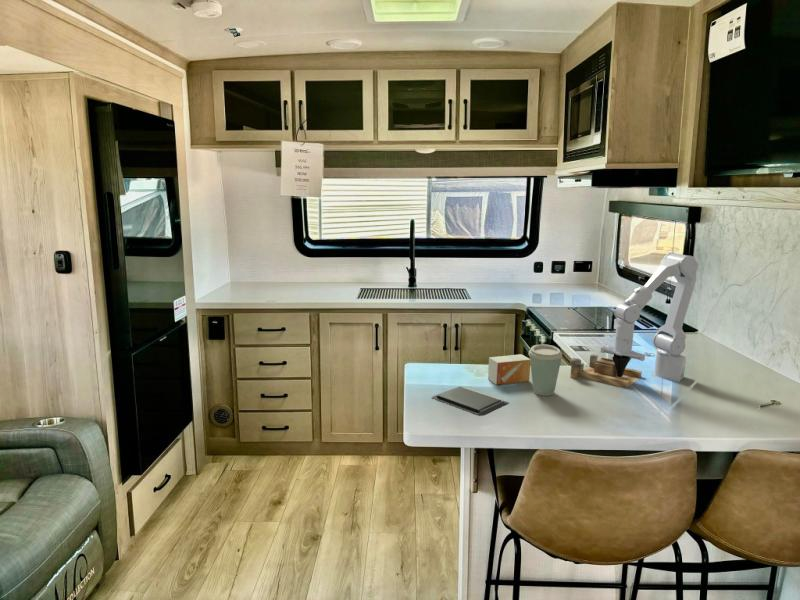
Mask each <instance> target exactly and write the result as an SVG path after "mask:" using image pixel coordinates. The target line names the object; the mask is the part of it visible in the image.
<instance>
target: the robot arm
mask: <svg viewBox="0 0 800 600" xmlns="http://www.w3.org/2000/svg"><path fill="white" fill-rule="evenodd" d="M659 263H660V264H659V266H658V268H656V270H655V271H654V273H653V274H652V275H651V276H650V277H649V279H648V280H647V282H645V284H644V285H643V286H638V287H637V288H634V290H633V291H632V293H631V294H630V295H629V297H628V298H627V299H625V301H623V302H622V303H619V304H618V305H617V306H616V307H615V310H614V311H613V315H614V317H615V323H616V324H615V326H616V327H615V337H614V345H613V347H612V346H605V345H602V346H601V347H600V353H602V354H610V355H613V356H612V360H613V361H614V363H615V366H616V370H617V376H618V377H622V376H623V373H624V370H625V368H627V366H628V364H629V362H630V361H631V360H632V359H634V360H639V361H641V362H643V361H645V359H646V354H645V353H641V352H638V351H634V350H633V343H634V342H633V341H634V340H633V339H634V331H635V324H636V322H637V320H639V319H640V316H641V312H642V309H644V307H645V306H646V305H647V304H648V303H649V302H650V301H651V300H652V298H653V293H654V291H656V290H657V289H658V288H659V287H660V286H661V285H662V284H664V283H665V281H666V280H667V279H668V278H670V277H674V278H675V280H676V285H675V289H674V293H673V296H672V299H671V303H670V305H669V306H670V307H669V309H668V313H667V317H666V320H665V324H663V325H662V326H660V327H658V329H657V332H656V334H654V336H653V339H652V342H653V346H654V347H655V351H656V355H655V363H654V364H655V365H654V372H653V373H651V374H650V376H651V377H655V378H659V379H665V380H668V381H673V382H681V380H683V378H684V377H685V370H686V363H687V362H686V361H687V358H686V356H685V355H682V353H683V352H684V351H685V349H686V339H687V335H686V333H685V332H684V330H683V325H684V322H685V319H686V316H687V312H688V309H689V305H690V302H691V299H692V295H693V291H694V289H695V285H696V282H697V271H698V268H699V262H698V261H697V259H696V258H695V257H694V256H692V255H687V254H681V253H676V252H668V253H667V254H666V255H665V256H664V257H663V258H662V259H661V260H660V262H659Z"/></svg>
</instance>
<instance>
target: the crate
mask: <svg viewBox="0 0 800 600" xmlns="http://www.w3.org/2000/svg"><path fill="white" fill-rule="evenodd" d="M594 373H598V374H602V375H607V376H611V377H616V376H617V370H616V366H615V363H614V361H613V359H610V358H606V357H601V358H600V359H598V360H597V361H596V363H595V366H594Z"/></svg>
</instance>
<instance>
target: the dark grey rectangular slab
mask: <svg viewBox="0 0 800 600" xmlns="http://www.w3.org/2000/svg"><path fill="white" fill-rule="evenodd" d="M431 399H432V400H434V399H435V401H437V402H441V403H443V404H445V403H446V404H445V405H448V404H449V406H452V407H455V408H457V409H460V410H461V411H465V412H468V413H470V414H472V415H476V416H479V417H481V416H486V415H488V414H490V413H492V412H494V411H496V410H498V409H500V408H503V407H505V406H507V405H508V403H509V401H505V400H503V399H500V398H497V397H494V396H490V395H488V394H485V393H482V392H479V391H476V390H472V389H470V388H466V387H462V386H458V387H454V388H452V389H450V390H446V391H444V392H441V393H439V394H436V395H434V396H432V397H431ZM502 406H503V407H502Z"/></svg>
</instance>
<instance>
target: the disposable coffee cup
mask: <svg viewBox="0 0 800 600" xmlns="http://www.w3.org/2000/svg"><path fill="white" fill-rule="evenodd" d="M528 356H529V359H530V373H531V380H532V381H531V382H532V388H533V391H534V393H535V394H536V393H537V394H536V395H538V394H539V395H538V396H545V395H546V396H547V397H549V396H552V395H553V394H554V392H555V391H556V386H557V381H558V376H559V372H560V367H561V362H562V359H563V353H562V351H561V350H560V348H559V347H557V346H555V345H550V344H543V343H542V344H535V345H532V346H531V347H530V350H528Z"/></svg>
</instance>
